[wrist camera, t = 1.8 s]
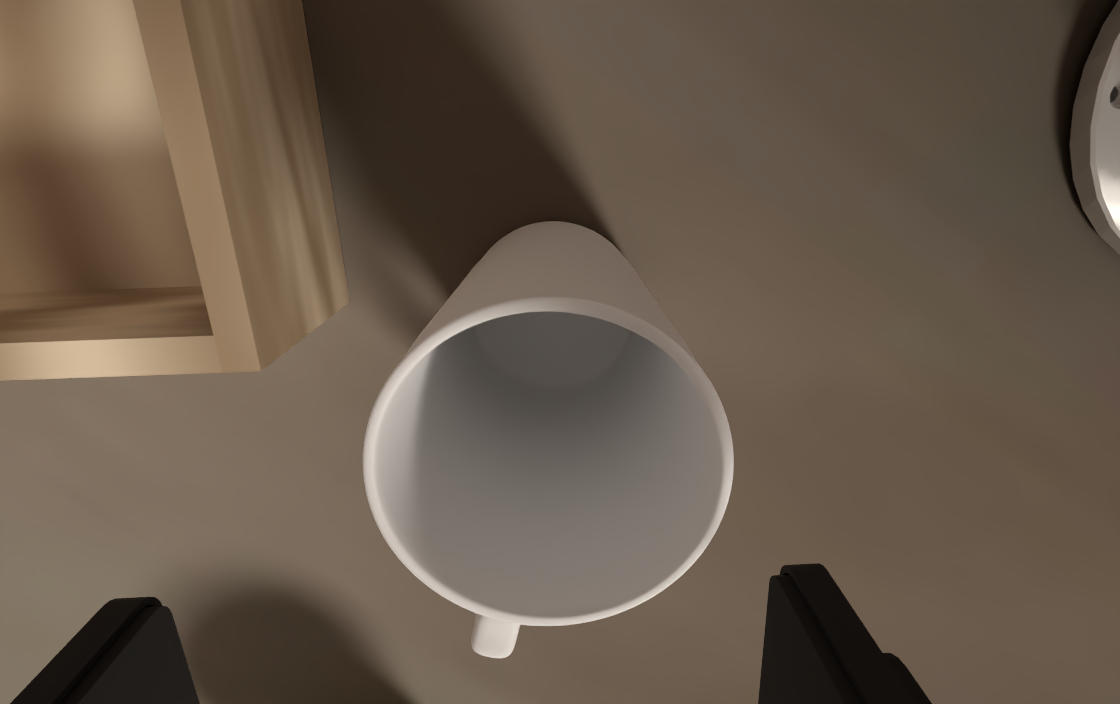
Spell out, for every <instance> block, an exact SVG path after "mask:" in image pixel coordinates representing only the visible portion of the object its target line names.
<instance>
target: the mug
mask: <svg viewBox="0 0 1120 704" xmlns="http://www.w3.org/2000/svg"><path fill="white" fill-rule="evenodd" d="M733 466H734V458H733V444H732V437H731V432H730V428H729V424H728V420H727V417H726V414H725V411H724V408H723V406H722V403H721V401H720V399H719V396H718V395H717V393H716V391H715V389H714V387H713V385H712V384H711V382H710V380H709V379H708V377H707V376H706V374H705V373H704V371H703V370H702V369H701V367H700V366H699V365H698V364H697V362H696V360H695V358H694V356H693V355H692V353H691V351H690V350H689V348H688V347H687V345H686V344H685V342H684V341H683V339H682V338H681V336H680V335H679V333H678V332H677V331H676V329H675V328H674V326H673V325H672V324H671V322H670V321H669V319H668V318H667V316H666V315H665V314H664V312H663V311H662V309H661V308H660V307H659V305H658V304H657V302H656V301H655V299H654V298H653V297H652V295H651V294H650V292H649V291H648V289H647V288H646V287H645V285H644V284H643V282H642V281H641V279H640V278H639V276H638V275H637V273H636V272H635V270H634V269H633V268H632V266H631V265H630V264H629V262H628V261H627V260H626V258H625V257H624V256H623V255H622V254H621V253H620V251H619V250H618V249H617V248H616V247H615V246H614V245H613V244H612V243H611V242H609V241H608V240H607V239H606V238H604V237H603V236H601V235H600V234H598V233H596V232H595V231H593V230H590V229H588V228H586V227H583V226H580V225H577V224H573V223H568V222H560V221H547V222H539V223H534V224H530V225H526V226H524V227H521V228H519V229H516V230H514V231H512V232H511V233H509V234H507V235H506V236H504V237H503V238H501V239H500V240H499V241H498V242H496V243H495V244H494V245H493V246H492V247H491V248H490V249H489V250H488V251H487V253H486V254H485V255H484V256H483V258H482V259H481V260H480V261H479V262H478V263H477V264H476V265H475V266H474V267H473V268H472V270H471V271H470V272H469V273H468V275H467V276H466V277H465V279H464V280H463V281H462V282H461V284H460V285H459V286H458V287H457V289H456V290H455V291H454V292H453V294H452V295H451V296H450V297H449V299H448V300H447V301H446V302H445V304H444V305H443V306H442V307H441V309H440V310H439V311H438V312H437V313H436V315H435V316H434V317H433V318H432V320H431V321H430V322H429V323H428V325H427V326H426V327H425V328H424V329H423V331H422V332H421V333H420V335H419V336H418V337H417V339H416V340H415V341H414V343H413V344H412V346H411V347H410V348H409V350H408V351H407V353H406V354H405V356H404V357H403V359H402V360H401V361H400V363H399V364H398V365H397V366H396V368H395V369H394V370H393V372H392V373H391V374H390V376H389V377H388V379H387V380H386V382H385V384H384V385H383V387H382V389H381V391H380V393H379V394H378V397H377V399H376V401H375V403H374V406H373V408H372V411H371V414H370V417H369V420H368V424H367V428H366V433H365V438H364V445H363V477H364V484H365V490H366V494H367V498H368V502H369V505H370V508H371V511H372V514H373V516H374V519H375V521H376V523H377V525H378V527H379V529H380V531H381V533H382V535H383V537H384V538H385V540H386V542H387V543H388V545H389V546H390V548H391V549H392V550H393V552H394V553H395V554H396V556H397V557H398V558H399V559H400V560H401V562H402V563H403V564H404V565H405V566H406V567H407V568H408V569H409V570H410V571H411V572H412V573H413V574H414V575H415V576H416V577H417V578H418V579H420V580H421V581H422V582H423V583H424V584H426V585H427V586H428V587H430V588H431V589H432V590H434V591H435V592H437V593H438V594H440V595H441V596H443V597H444V598H446V599H448V600H450V601H451V602H453V603H455V604H457V605H459V606H461V607H463V608H465V609H467V610H470V611H472V612H475V613H476V618H475V623H474V628H473V633H472V638H471V645H472V648H473V650H474V651H475V652H477V653H478V654H480V655H483V656H487V657H492V658H505V657H507V656H509V655H510V654H511V652H512V651H513V649H514V646H515V642H516V638H517V635H518V631H519V627H520V624H521V625H533V626H560V625H571V624H579V623H584V622H590V621H594V620H598V619H602V618H606V617H609V616H612V615H615V614H618V613H621V612H623V611H626V610H628V609H630V608H633V607H635V606H637V605H639V604H641V603H643V602H645V601H646V600H648V599H650V598H652V597H653V596H655V595H657V594H658V593H660V592H661V591H663V590H664V589H665V588H667V587H668V586H669V585H671V584H672V583H673V582H675V581H676V580H677V579H678V578H679V577H680V576H681V575H683V574H684V573H685V572H686V571H687V570H688V569H689V568H690V567H691V566H692V564H693V563H694V562H695V561H696V560H697V559H698V558H699V556H700V555H701V554H702V552H703V551H704V550H705V548H706V547H707V545H708V544H709V542H710V541H711V539H712V538H713V536H714V534H715V532H716V530H717V528H718V526H719V524H720V522H721V520H722V518H723V515H724V512H725V510H726V506H727V503H728V500H729V496H730V491H731V486H732V479H733Z"/></svg>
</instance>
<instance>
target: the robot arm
mask: <svg viewBox="0 0 1120 704" xmlns="http://www.w3.org/2000/svg"><path fill="white" fill-rule="evenodd" d="M1070 154H1071V164H1072V174H1073V181H1074V184H1075V187H1076V190H1077V193H1078V196H1079V199H1080V202H1081V205H1082V208H1083V211H1084V212H1085V214H1086V216H1087V217H1088V219H1089V220H1090V222H1091V224H1092V225H1093V227H1094V228H1095V230H1096V231H1097V233H1098V235H1099V236H1100V237H1101V238H1102V239H1103V240H1104V241H1105V242H1106V243H1107V244H1109V245H1110V246H1111V247H1112V248H1113V249H1114V250H1115V251H1116V252H1117V253H1118V254H1119V255H1120V0H1118V2H1117V3H1116V5H1115V7H1114V8H1113V10H1112V11H1111V13H1110V14H1109V16H1108V18H1107V19H1106V21H1105V22H1104V24H1103V26H1102V28H1101V30H1100V32H1099V35H1098V37H1097V39H1096V41H1095V43H1094V46H1093V48H1092V50H1091V52H1090V55H1089V57H1088V59H1087V61H1086V64H1085V66H1084V69H1083V73H1082V76H1081V80H1080V84H1079V87H1078V91H1077V95H1076V98H1075V102H1074V106H1073V114H1072V125H1071V135H1070ZM10 704H200V703H199V700H198V697H197V694H196V690H195V687H194V684H193V681H192V677H191V674H190V671H189V668H188V664H187V661H186V658H185V655H184V651H183V648H182V645H181V642H180V638H179V635H178V632H177V629H176V626H175V622H174V619H173V616H172V613H171V611H170V609H169V608H168V607H165V606H162V604H161V602H160V601H159V600H158V599H157V598H155V597H139V598H119V599H113V600H111V601H109V602H108V603H106V604H105V605H104V606H103V607H102V608H101V609H100V610H99V611H98V612H97V613H96V614H95V615H94V616H93V617H92V618H91V619H90V620H89V621H88V622H87V624H86V625H85V626H84V627H83V628H82V629H81V630H80V631H79V632H78V633H77V634H76V635H75V636H74V637H73V638H72V639H71V640H70V641H69V642H68V643H67V645H66V646H65V647H64V648H63V649H62V650H61V651H60V652H59V653H58V654H57V655H56V656H55V657H54V658H53V659H52V660H51V661H50V662H49V663H48V664H47V666H46V667H45V668H44V669H43V670H42V671H41V672H40V673H39V674H38V675H37V676H36V677H35V678H34V679H33V680H32V681H31V682H30V683H29V684H28V685H27V687H26V688H25V689H24V690H23V691H22V692H21V693H20V694H19V695H18V696H17V697H16V698H15V699H14V700H13V701H12V702H11V703H10ZM758 704H932V703H931V702H930V700H929V699H928V698H927V696H926V695H925V693H924V692H923V690H922V689H921V688H920V686H919V685H918V683H917V682H916V680H915V679H914V677H913V676H912V675H911V673H910V672H909V670H908V669H907V667H906V666H905V665H904V664H903V663H902V662H901V660H900V659H899V658H898V657H896V656H895V655H893V654H891V653H882V652H881V650H880V649H879V647H878V646H877V644H876V643H875V641H874V640H873V638H872V637H871V635H870V634H869V632H868V631H867V629H866V628H865V626H864V625H863V623H862V622H861V620H860V619H859V617H858V616H857V614H856V613H855V611H854V610H853V608H852V607H851V605H850V604H849V602H848V601H847V599H846V598H845V596H844V595H843V593H842V592H841V590H840V589H839V587H838V586H837V584H836V583H835V581H834V580H833V578H832V577H831V575H830V574H829V572H828V571H827V569H826V568H825V567H824V566H823V565H821V564H800V565H785V566H783V567H782V568H781V571H780V575H776V576H771V578H770V582H769V592H768V603H767V614H766V625H765V636H764V647H763V658H762V668H761V679H760V690H759V701H758Z"/></svg>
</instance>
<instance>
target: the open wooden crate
mask: <svg viewBox="0 0 1120 704" xmlns="http://www.w3.org/2000/svg"><path fill="white" fill-rule="evenodd" d="M349 302H350V301H349V294H348V288H347V282H346V275H345V269H344V263H343V256H342V250H341V244H340V238H339V231H338V225H337V219H336V212H335V206H334V200H333V194H332V187H331V181H330V175H329V168H328V162H327V156H326V150H325V143H324V137H323V131H322V124H321V118H320V112H319V105H318V99H317V93H316V87H315V80H314V74H313V68H312V61H311V55H310V49H309V43H308V36H307V30H306V24H305V17H304V11H303V5H302V0H0V380H28V379H56V378H83V377H111V376H139V375H167V374H195V373H223V372H251V371H262V370H263V369H264V368H266V367H267V366H268V365H269V364H271V363H272V362H273V361H275V360H276V359H277V358H278V357H280V356H281V355H282V354H283V353H285V352H286V351H287V350H289V349H290V348H291V347H292V346H294V345H295V344H296V343H298V342H299V341H300V340H301V339H303V338H304V337H305V336H306V335H308V334H309V333H310V332H312V331H313V330H314V329H315V328H317V327H318V326H319V325H321V324H322V323H323V322H324V321H326V320H327V319H328V318H330V317H331V316H332V315H333V314H335V313H336V312H337V311H338V310H340V309H341V308H342V307H344V306H345V305H346V304H347V303H349Z"/></svg>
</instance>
